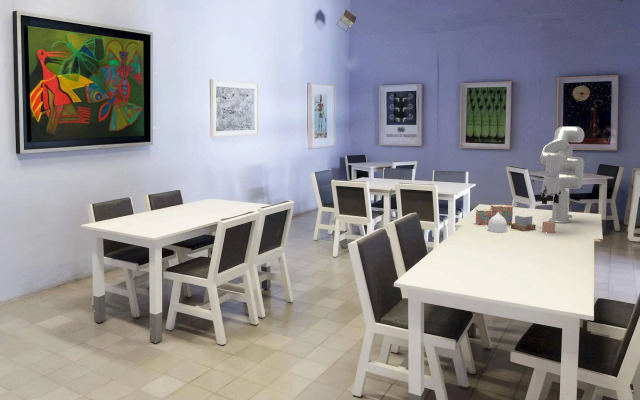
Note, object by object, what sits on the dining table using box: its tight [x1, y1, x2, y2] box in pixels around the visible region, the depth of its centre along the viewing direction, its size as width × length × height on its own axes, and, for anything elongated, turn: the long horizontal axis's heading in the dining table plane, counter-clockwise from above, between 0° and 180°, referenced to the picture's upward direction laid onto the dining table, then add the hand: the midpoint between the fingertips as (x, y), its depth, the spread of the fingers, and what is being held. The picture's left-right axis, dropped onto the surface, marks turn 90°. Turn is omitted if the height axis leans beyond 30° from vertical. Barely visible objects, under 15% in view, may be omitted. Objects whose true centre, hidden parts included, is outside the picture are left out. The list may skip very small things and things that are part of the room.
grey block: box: [514, 214, 533, 226], centre depth 334 cm, size 7×7×5 cm
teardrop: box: [487, 212, 508, 234], centre depth 329 cm, size 11×11×12 cm
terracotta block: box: [541, 220, 556, 234], centre depth 326 cm, size 5×5×6 cm
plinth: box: [510, 222, 537, 232], centre depth 335 cm, size 10×10×3 cm
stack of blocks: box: [475, 204, 514, 226], centre depth 349 cm, size 21×6×12 cm, turn 85°
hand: (550, 203), depth 324 cm, fingers open, 9 cm apart
